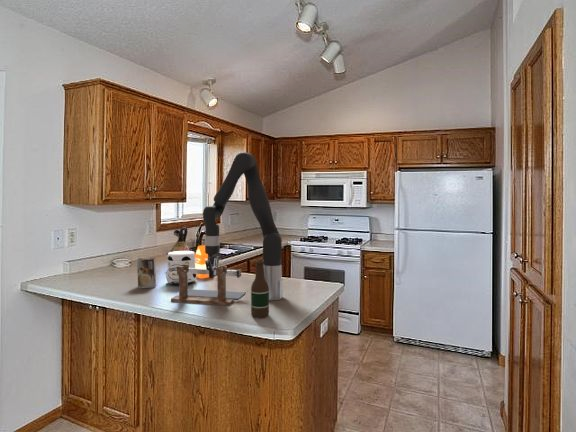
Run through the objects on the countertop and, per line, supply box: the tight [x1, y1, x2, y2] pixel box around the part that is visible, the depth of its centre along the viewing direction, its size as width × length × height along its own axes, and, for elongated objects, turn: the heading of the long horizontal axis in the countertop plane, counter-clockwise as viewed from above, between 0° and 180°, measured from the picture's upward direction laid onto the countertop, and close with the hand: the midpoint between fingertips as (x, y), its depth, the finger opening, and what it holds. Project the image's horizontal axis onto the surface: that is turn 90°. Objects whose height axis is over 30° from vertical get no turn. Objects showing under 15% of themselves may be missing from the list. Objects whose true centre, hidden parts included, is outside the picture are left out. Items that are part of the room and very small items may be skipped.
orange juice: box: [195, 244, 209, 279], centre depth 234 cm, size 8×9×20 cm
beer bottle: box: [250, 259, 270, 319], centre depth 158 cm, size 8×8×24 cm
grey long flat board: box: [188, 288, 247, 300], centre depth 192 cm, size 32×12×1 cm, turn 79°
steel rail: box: [187, 267, 242, 278], centre depth 191 cm, size 30×4×4 cm, turn 79°
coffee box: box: [136, 257, 157, 289], centre depth 207 cm, size 9×6×16 cm
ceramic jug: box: [170, 226, 191, 252], centre depth 250 cm, size 17×15×30 cm
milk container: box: [165, 250, 198, 286], centre depth 216 cm, size 17×17×18 cm
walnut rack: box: [170, 264, 235, 306], centre depth 178 cm, size 30×6×18 cm, turn 79°
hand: (212, 277), depth 191 cm, fingers closed on steel rail, 2 cm apart
